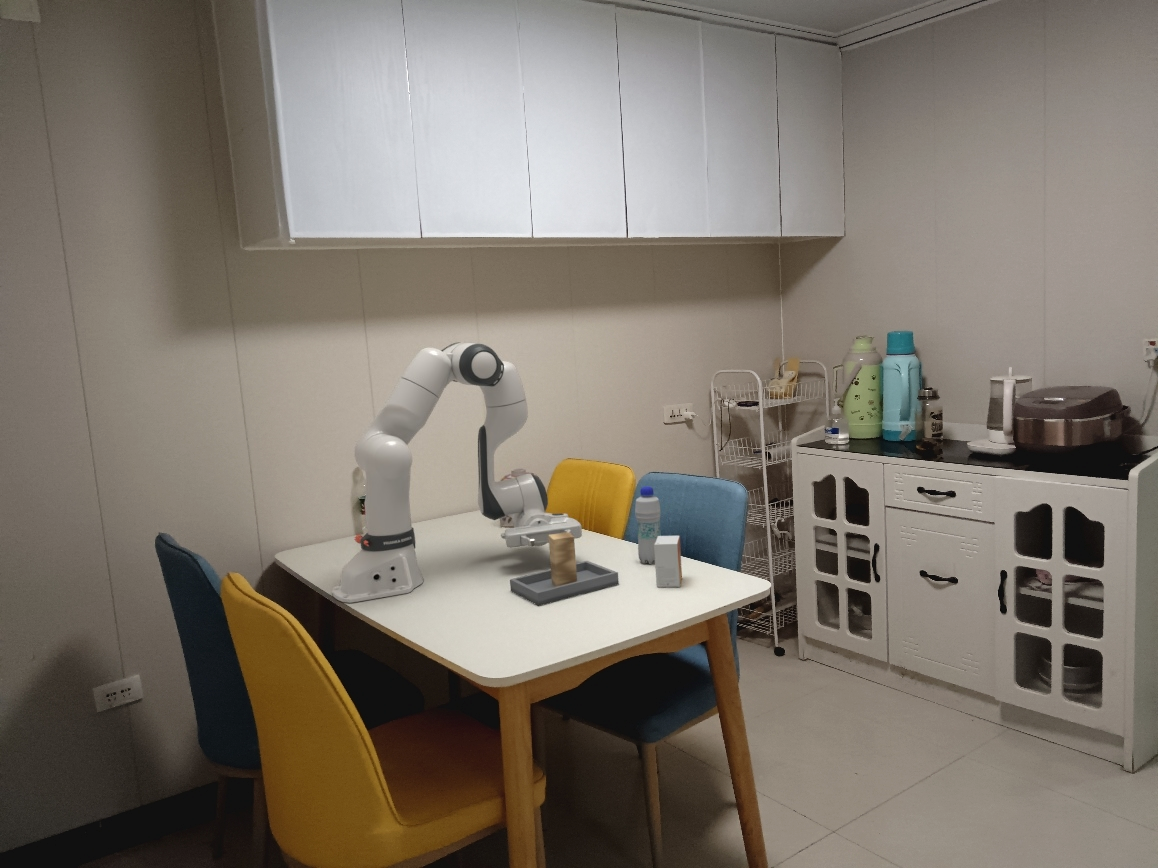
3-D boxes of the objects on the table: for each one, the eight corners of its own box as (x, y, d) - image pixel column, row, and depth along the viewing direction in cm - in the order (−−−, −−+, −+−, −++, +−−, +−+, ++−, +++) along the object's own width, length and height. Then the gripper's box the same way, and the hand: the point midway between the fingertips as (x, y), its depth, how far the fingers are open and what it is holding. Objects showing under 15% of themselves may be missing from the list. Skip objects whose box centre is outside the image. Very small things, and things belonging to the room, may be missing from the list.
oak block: (557, 589, 192) (553, 539, 190) (552, 583, 197) (548, 534, 195) (577, 585, 193) (574, 536, 192) (571, 580, 198) (568, 532, 196)
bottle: (669, 560, 212) (664, 485, 209) (650, 566, 208) (646, 490, 205) (651, 556, 217) (646, 483, 214) (632, 562, 213) (628, 487, 210)
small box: (680, 587, 190) (677, 543, 188) (656, 587, 191) (653, 544, 190) (682, 577, 198) (680, 535, 196) (659, 577, 199) (657, 535, 197)
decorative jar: (512, 519, 273) (507, 466, 271) (545, 519, 270) (541, 465, 267) (499, 528, 261) (494, 473, 259) (533, 528, 258) (529, 472, 256)
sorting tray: (538, 605, 184) (537, 593, 183) (510, 591, 196) (509, 579, 195) (618, 584, 195) (617, 572, 195) (587, 572, 207) (587, 560, 207)
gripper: (498, 522, 215) (508, 534, 202) (572, 512, 221) (587, 523, 208) (500, 545, 216) (510, 558, 203) (573, 535, 222) (588, 547, 209)
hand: (550, 540), depth 205 cm, fingers open, 8 cm apart
